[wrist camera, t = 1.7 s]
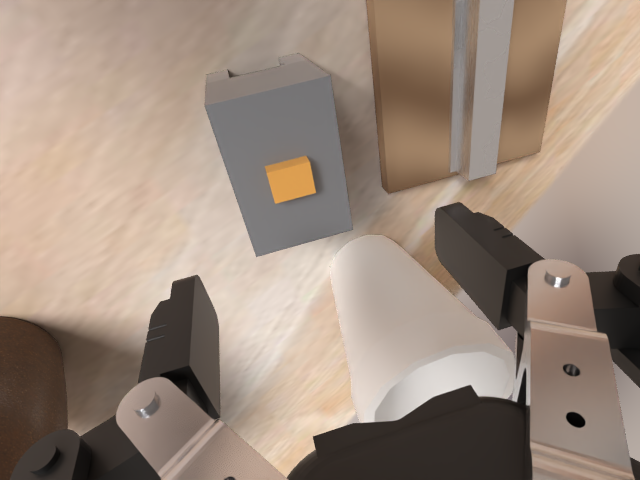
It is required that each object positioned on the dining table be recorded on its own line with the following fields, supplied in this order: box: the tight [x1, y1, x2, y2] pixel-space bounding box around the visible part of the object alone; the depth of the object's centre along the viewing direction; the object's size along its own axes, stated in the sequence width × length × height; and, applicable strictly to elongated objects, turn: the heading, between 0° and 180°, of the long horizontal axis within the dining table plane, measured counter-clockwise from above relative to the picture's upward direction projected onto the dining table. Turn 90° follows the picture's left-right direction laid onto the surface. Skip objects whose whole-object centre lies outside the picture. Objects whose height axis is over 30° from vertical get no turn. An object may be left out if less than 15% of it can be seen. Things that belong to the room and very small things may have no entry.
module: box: [205, 53, 353, 257], centre depth 21 cm, size 8×5×8 cm
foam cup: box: [330, 235, 515, 423], centre depth 27 cm, size 10×9×13 cm
